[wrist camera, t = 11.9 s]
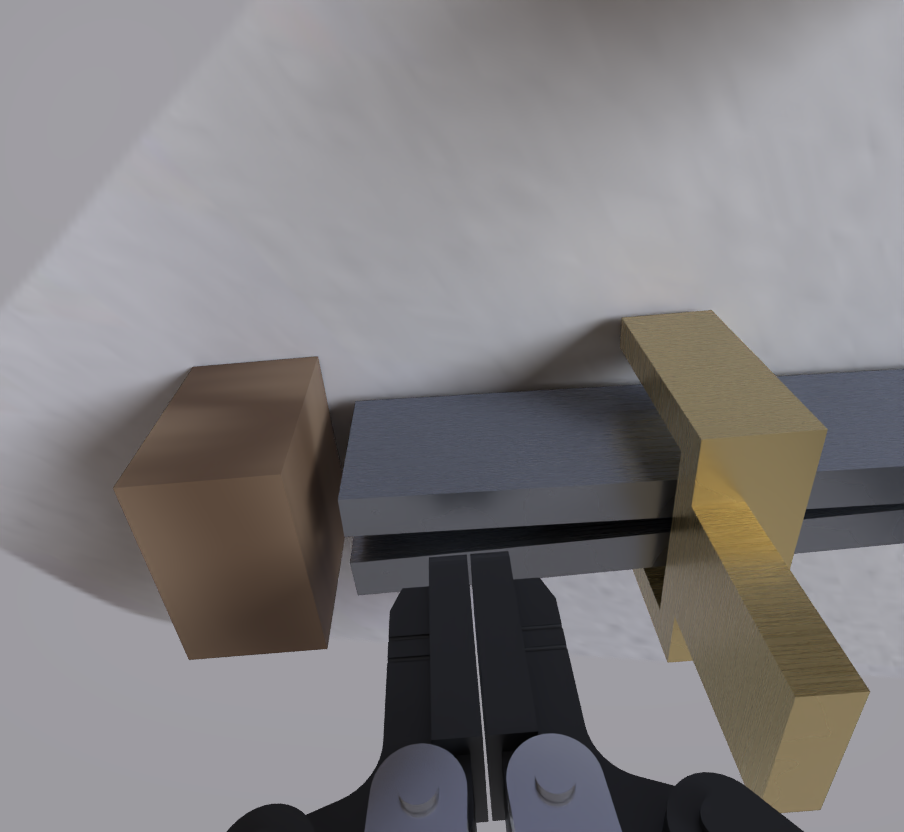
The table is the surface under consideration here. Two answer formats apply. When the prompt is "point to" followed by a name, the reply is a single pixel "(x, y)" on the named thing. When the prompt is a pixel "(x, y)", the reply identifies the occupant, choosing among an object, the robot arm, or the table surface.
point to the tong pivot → (241, 508)
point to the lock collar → (744, 557)
